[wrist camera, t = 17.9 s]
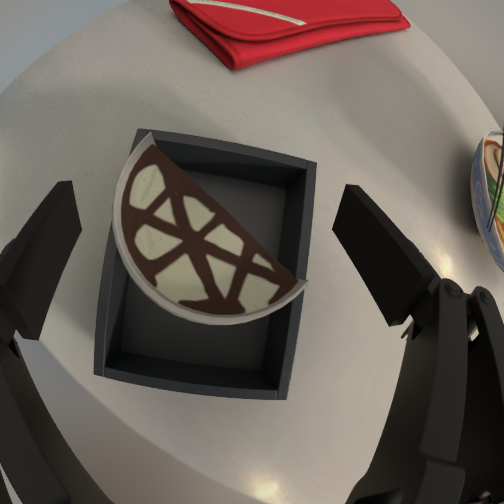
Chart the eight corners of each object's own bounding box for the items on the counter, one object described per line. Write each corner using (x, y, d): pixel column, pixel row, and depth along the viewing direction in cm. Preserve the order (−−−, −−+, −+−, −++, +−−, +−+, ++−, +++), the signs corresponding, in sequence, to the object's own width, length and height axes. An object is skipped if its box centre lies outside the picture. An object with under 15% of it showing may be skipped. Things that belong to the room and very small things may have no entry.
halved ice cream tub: (110, 238, 22) (59, 208, 12) (161, 185, 23) (144, 126, 13) (217, 341, 23) (235, 381, 13) (267, 286, 24) (316, 288, 14)
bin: (113, 355, 21) (93, 374, 16) (147, 158, 24) (137, 127, 18) (267, 377, 24) (286, 400, 18) (293, 185, 26) (317, 162, 21)
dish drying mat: (408, 31, 35) (418, 21, 32) (235, 78, 26) (241, 55, 23) (353, -16, 35) (360, -27, 31) (166, 13, 26) (166, -7, 22)
